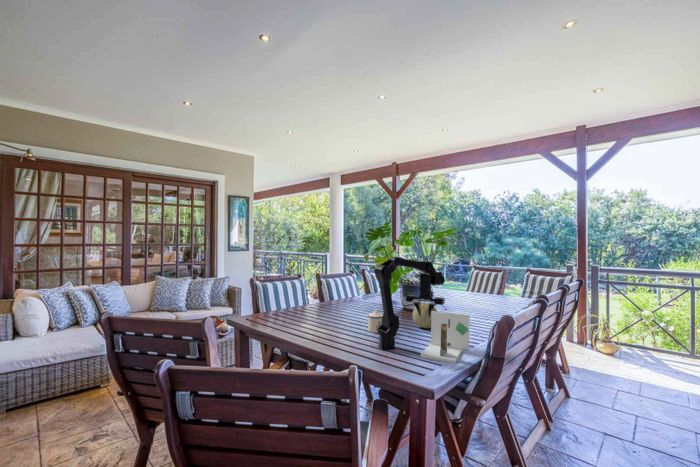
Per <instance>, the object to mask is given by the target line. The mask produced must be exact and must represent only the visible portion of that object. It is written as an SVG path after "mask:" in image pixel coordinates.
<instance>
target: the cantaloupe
mask: <svg viewBox="0 0 700 467" xmlns="http://www.w3.org/2000/svg"><path fill="white" fill-rule="evenodd" d="M429 304H431V303H430V302H428V303H427V302H421V316H419V313H418V311H417V308H416V306H415V307H414V309H413V311H412V319H413V321H414V323H415V324H416V326H418V327H419V328H422V329H431V315H430V317H429ZM432 311H436V312H438V310H437V308H436V306H434V308H433V310H432Z"/></svg>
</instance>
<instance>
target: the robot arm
mask: <svg viewBox="0 0 700 467" xmlns="http://www.w3.org/2000/svg"><path fill="white" fill-rule="evenodd" d="M399 266H400V267H404V268H405V267H406V268H410V269H415V270H416V271H418V273H417V274H415V277H416V278H419V285H418V286H419V287H418V291H419V292H418V294H419V296H417V295H416V294H408V295H406V296H405V302H409V303H412V304H413V305H414V306H415V307H416V308H417V311H418V313H419V316H421V303H422V302H425V303H427V302H428V303H429V302H430V304H429V317H430V315H431V311H432V310H433V308H434V307H436V306H437V305H440V306H442V305H444V304H445V303H446V302H445V300H446V299H445V298H444V297H438V296H436V297H435V298H434V291H432V286H443V285H444V284H445V280H446V279H445V276H444V275H443V272H442V271H436V268H435V267H434V264H433V262H432V261H425V260H411V259H407V258H402V257H399V256H391V257H390V258H389V259H387V260H385V261H384V262H383V261H382V262H381V263H380V264H378V265H376V266H375V268H374V276H375V279H376V280H377V282H378V284H379V289H380V290H379V291H380V297H381V304H382V311H383V313H382V314H383V317H382V324H381V325H380V326H379V327H378V329H377V330H378V333H377V334H379V344H378V345H377V346H378V347H379V348H380V349H381V350H382V351H384V350H395V349H396V347H395V345H396V341H395V340H396V338H395V337H396V336H397V334H398V330H399V329H400V325H401V323H400V318H399V317H400V316H399V315H397V314H395V310H394V306H393V299H392V298H393V297H392V293H391V292H392V291H391V285H390V284H391V280H392V273H393V272H395V271H396V269H397V268H398V267H399Z"/></svg>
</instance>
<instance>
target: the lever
mask: <svg viewBox="0 0 700 467" xmlns="http://www.w3.org/2000/svg"><path fill="white" fill-rule="evenodd" d="M441 350H445V353H446V351H447V324H443V323H442V324H441Z"/></svg>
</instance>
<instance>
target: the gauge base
mask: <svg viewBox="0 0 700 467" xmlns="http://www.w3.org/2000/svg"><path fill="white" fill-rule="evenodd" d="M442 323H443V324H447V351H446V353H445V350H441V324H442ZM430 330H431V331H430V343H429V345H428V346H427V347H426V348H425V349H424V350H423V351H422V352H421V353H420V358H422V359H423V358H424V359H429V360H436V361H441V362H447V363H452V364H456V363H457V361H458V360H459V359H460V356H461V354H462V353H463V350H466V351H470V314H462V313H452V312H444V311H443V312H442V311H437V312H436V311H431V328H430Z"/></svg>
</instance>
